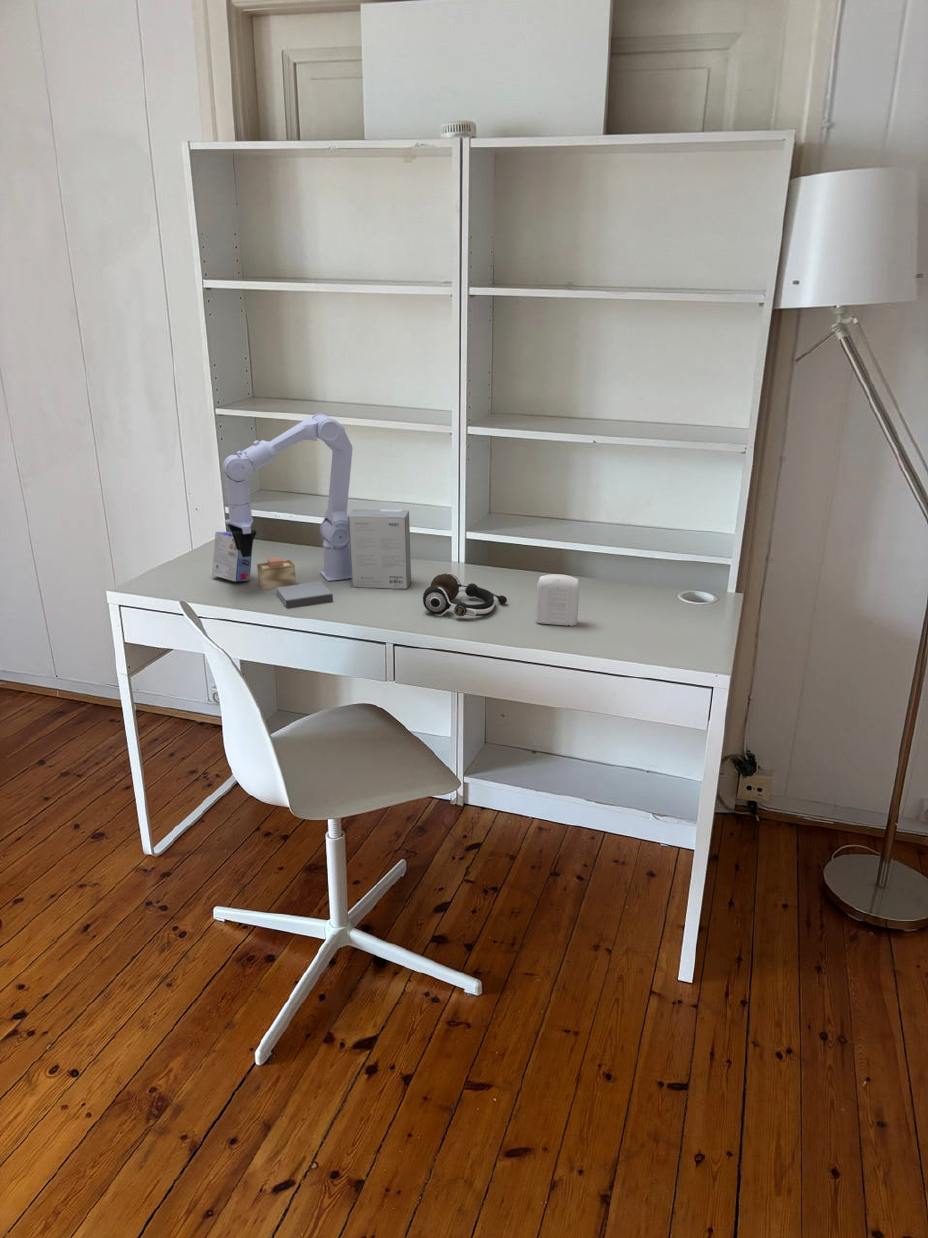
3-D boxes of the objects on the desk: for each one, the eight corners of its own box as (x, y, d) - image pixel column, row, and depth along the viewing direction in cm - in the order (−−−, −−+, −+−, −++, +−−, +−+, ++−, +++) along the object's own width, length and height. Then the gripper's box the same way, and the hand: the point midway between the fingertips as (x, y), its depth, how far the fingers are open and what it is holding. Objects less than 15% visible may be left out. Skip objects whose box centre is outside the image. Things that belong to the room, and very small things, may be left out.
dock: (321, 588, 241) (320, 581, 240) (332, 601, 232) (332, 594, 231) (276, 594, 236) (276, 587, 236) (287, 608, 227) (286, 601, 227)
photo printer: (577, 620, 221) (580, 573, 216) (577, 627, 217) (579, 579, 213) (536, 618, 223) (537, 570, 218) (534, 624, 219) (536, 576, 214)
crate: (280, 563, 244) (280, 556, 243) (283, 567, 241) (282, 560, 241) (268, 565, 243) (267, 558, 242) (270, 569, 240) (270, 562, 239)
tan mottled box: (291, 579, 248) (289, 559, 246) (296, 585, 244) (294, 565, 241) (258, 583, 244) (256, 563, 242) (262, 590, 240) (261, 569, 238)
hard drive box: (411, 580, 248) (410, 509, 240) (407, 590, 240) (406, 517, 233) (356, 578, 249) (353, 508, 241) (350, 587, 242) (347, 515, 234)
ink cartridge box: (251, 580, 246) (254, 528, 243) (236, 582, 242) (239, 529, 239) (226, 574, 251) (229, 522, 248) (211, 575, 247) (214, 523, 244)
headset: (437, 565, 235) (511, 581, 232) (433, 592, 238) (506, 608, 235) (421, 587, 219) (501, 605, 217) (417, 615, 222) (495, 633, 220)
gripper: (218, 497, 236) (223, 546, 242) (229, 511, 224) (234, 562, 229) (245, 494, 239) (249, 543, 244) (257, 508, 227) (261, 559, 232)
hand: (243, 552), depth 237 cm, fingers open, 6 cm apart
